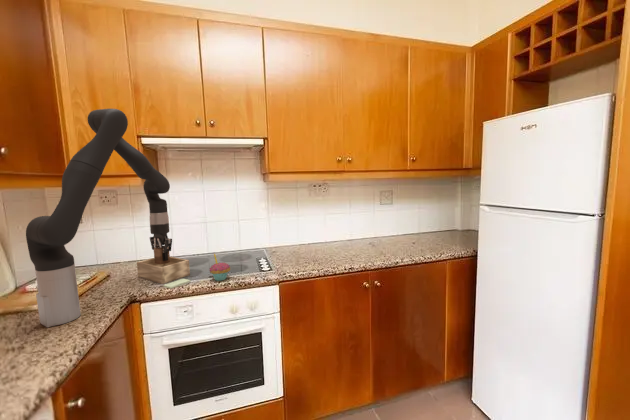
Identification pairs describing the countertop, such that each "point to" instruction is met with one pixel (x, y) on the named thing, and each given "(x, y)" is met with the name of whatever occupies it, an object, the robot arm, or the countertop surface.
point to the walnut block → (160, 256)
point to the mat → (176, 283)
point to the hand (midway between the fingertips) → (162, 259)
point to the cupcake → (219, 270)
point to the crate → (163, 270)
